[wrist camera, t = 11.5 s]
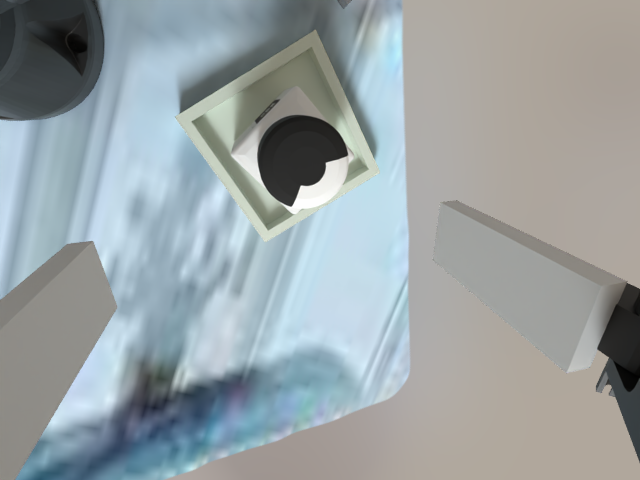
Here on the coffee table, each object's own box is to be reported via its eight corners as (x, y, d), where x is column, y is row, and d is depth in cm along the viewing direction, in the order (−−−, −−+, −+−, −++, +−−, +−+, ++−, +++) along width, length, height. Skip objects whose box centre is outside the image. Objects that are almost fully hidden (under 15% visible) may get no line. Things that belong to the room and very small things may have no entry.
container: (231, 143, 32) (225, 166, 21) (285, 88, 31) (309, 78, 20) (285, 195, 36) (304, 239, 24) (334, 146, 35) (380, 167, 23)
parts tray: (179, 116, 31) (174, 116, 29) (310, 34, 30) (315, 29, 28) (264, 234, 37) (265, 242, 35) (372, 168, 37) (380, 172, 35)
